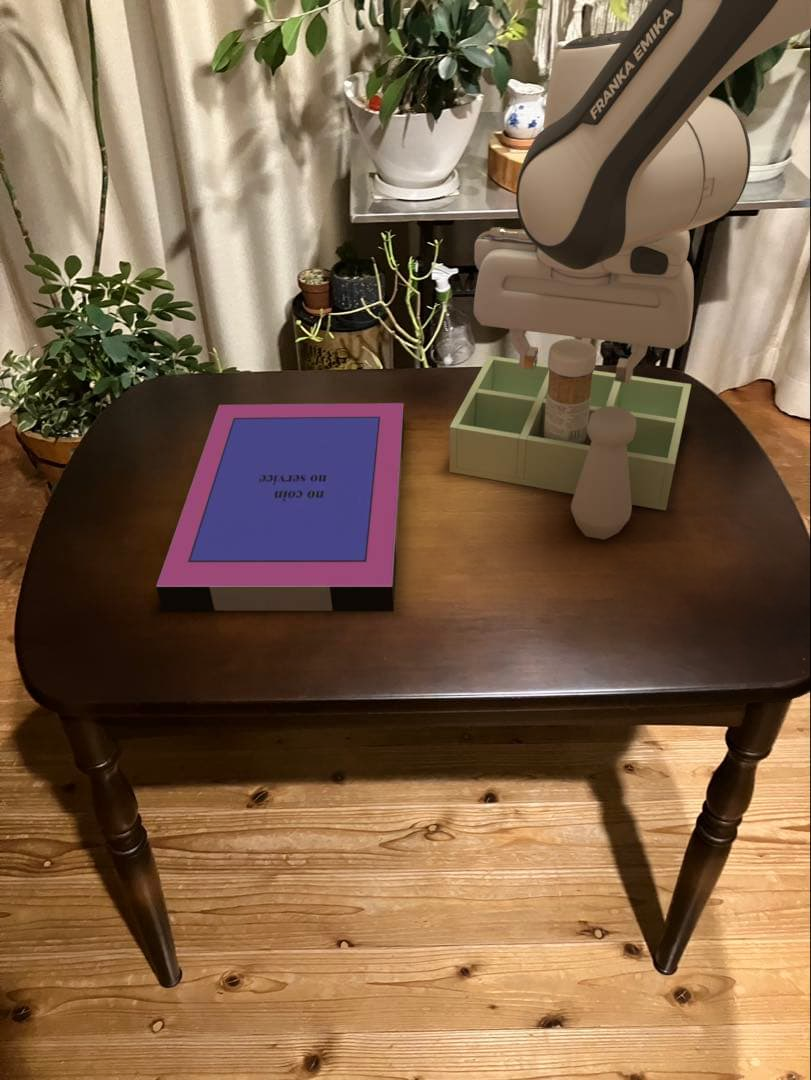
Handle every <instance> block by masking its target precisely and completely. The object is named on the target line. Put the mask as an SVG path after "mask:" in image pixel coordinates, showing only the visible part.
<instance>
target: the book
mask: <svg viewBox="0 0 811 1080" xmlns="http://www.w3.org/2000/svg"><path fill="white" fill-rule="evenodd" d="M404 404H405V403H404V402H378V403H377V402H373V403H372V402H371V403H370V402H369V403H365V402H363V403H362V402H361V403H360V402H359V403H274V404H273V403H267V404H266V403H264V404H263V403H260V404H259V403H255V404H244V403H243V404H219V405H218V407H217V410H216V413H215V416H214V419H213V422H212V424H211V427H210V429H209V433H208V436H207V438H206V442H205V445H204V447H203V451H202V453H201V456H200V458H199V462H198V465H197V468H196V470H195V473H194V477H193V479H192V483H191V485H190V488H189V491H188V493H187V497H186V500H185V502H184V505H183V508H182V511H181V514H180V517H179V520H178V523H177V526H176V529H175V531H174V534H173V536H172V539H171V543H170V545H169V547H168V552H167V555H166V558H165V560H164V563H163V566H162V569H161V572H160V574H159V576H158V577H159V578H158V580H157V583H156V590H157V595H158V598H159V601H160V604H161V609H162V611H165V612H166V611H167V612H168V611H169V612H170V611H171V612H172V611H175V612H176V611H177V612H179V611H191V612H193V611H195V612H196V611H198V612H199V611H201V612H202V611H203V612H205V611H208V612H209V611H211V612H212V611H214V612H215V611H216V612H217V611H219V612H220V611H222V612H223V611H227V612H231V611H232V612H234V611H235V612H236V611H237V612H238V611H239V612H241V611H242V612H243V611H245V612H247V611H248V612H249V611H250V612H251V611H252V612H253V611H254V612H255V611H256V612H258V611H259V612H262V611H264V612H266V611H267V612H269V611H270V612H274V611H275V612H276V611H277V612H279V611H281V612H288V611H289V612H292V611H293V612H298V611H299V612H345V611H346V612H361V611H362V612H394V610H395V593H396V575H397V558H398V544H399V543H398V542H399V541H398V540H399V526H400V525H399V524H400V508H401V507H400V506H401V493H402V492H401V491H402V490H401V489H402V472H403V455H404V440H405V439H404V438H405V405H404Z"/></svg>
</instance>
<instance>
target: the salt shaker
mask: <svg viewBox="0 0 811 1080" xmlns="http://www.w3.org/2000/svg"><path fill="white" fill-rule="evenodd" d="M635 431H636V419H635V418H634V416H633V414H631V413H630V412H629V411H627V410H625V409H623V408H620V407H616V406H606V407H602V408H599V409H597V410H596V411H595V412H593V413H592V414H591V416H590V419H589V422H588V426H587V432H588V435H589V437H590V439H591V440H592V442H591V445H590V448H589V451H588V454H587V457H586V460H585V463H584V466H583V469H582V473H581V476H580V479H579V482H578V485H577V488H576V491H575V494H573V496H572V499H571V503H570V511H571V513H572V516H573V519H574V522H575V524H576V526H577V527H578V528H579V530H580V531H581V532H582V534H583V536H585V537H586V538H587V537H588V538H593V539H599V540H607V539H609V538H611V537H613V536H615V535H617V534H618V533H620V532H621V530H622V529H623V528H624V527H625V525H626V524H627V523H628V522H629V521H630V518H631V515H632V508H633V505H632V503H631V492H630V480H629V469H628V458H627V444H629V443H630V442H631V441H632V440H633V439H634V435H635Z"/></svg>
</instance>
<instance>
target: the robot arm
mask: <svg viewBox="0 0 811 1080" xmlns="http://www.w3.org/2000/svg"><path fill="white" fill-rule="evenodd" d="M809 30H811V0H651V1H649V3H648V5H647V6H646V7H645V9H644V10H643V12H642V13H641V14H640V16H639V18H637V20H636V21H635V22H634V24H633V26H632V27H631V28H630V29H629V30H627V29H626V30H615V31H612V32H606V33H598V34H592V35H588V36H587V35H586V36H583V37H577V38H575V39H572V40H570V41H569V42H567V43H566V44H564V45H563V46H562V47H561V48H560V49H559V50H558V51H557V53H556V56H555V59H554V61H553V65H552V68H551V72H550V77H549V81H548V85H547V91H546V98H545V99H546V100H545V108H544V118H543V129H542V130H541V131H540V132H539V133H538V134H537V135H536V136H535V138H534V139H533V141H532V143H531V144H530V146H529V148H528V149H527V152H526V154H525V156H524V159H523V162H522V165H521V167H520V171H519V174H518V177H517V184H516V192H515V201H516V211H517V216H518V218H519V222H520V224H521V227H522V228H521V229H512V228H511V229H510V228H506V227H502V226H495V227H494V226H493V227H491V228H490V230H487V231H486V230H485V231H484V232H482V233H480V235H478V236H477V238H476V239H475V242H474V245H473V247H474V248H473V249H474V250H473V251H474V252H473V258H474V259H473V260H474V264H475V267H476V269H477V270H478V274H477V280H476V284H475V292H474V298H473V299H474V300H473V317H475V319H476V320H477V322H478V323H479V325H481V326H484V327H485V326H486V327H492V328H501V329H507V330H508V331H509V332H508V338H509V340H510V342H511V344H512V345H513V347H514V349H515V350H516V352H517V354H519V359H518V360H519V368H520V369H528V370H534V369H535V367H536V365H537V362H538V359H539V358H538V354H539V347H537V346H531V344H530V343H529V340H528V339H527V336H526V333H527V332H531V333H532V332H533V333H539V334H540V333H541V334H548V335H557V336H563V337H564V336H565V337H573V338H581V339H587V340H597V341H606V342H614V343H622V344H629V345H631V346H630V353H631V354H630V355H629V356H628V357H627V358H623V357H619V358H618V361H617V363H616V368H615V374H616V376H615V381H617V382H625V383H630V382H631V379H632V376H633V375H634V369H635V368H636V366H637V365H638V364H639V363H640V362H641V361H642V359H644V357H645V356H646V354H647V351H648V348H649V347H654V348H662V349H669V350H678V349H679V348H681V347H682V346H683V345H685V344H686V343H687V342H688V340H689V337H690V332H691V328H692V327H691V326H692V321H693V312H694V299H695V298H694V297H695V279H694V277H695V276H694V272H693V268H692V265H691V263H690V262H689V261H688V260H687V259H688V256H689V252H690V246H691V245H690V244H691V237H690V236H691V235H690V230H692V229H695V228H699V227H701V226H704V225H707V224H709V223H711V222H713V221H715V220H718V219H720V218H722V217H724V216H726V215H728V214H729V213H730V212H731V211H732V210H733V209H734V208H735V207H736V205H737V204H738V202H739V200H740V199H741V197H742V195H743V193H744V191H745V188H746V185H747V182H748V179H749V175H750V171H751V170H750V169H751V163H752V162H751V161H752V160H751V155H752V154H751V143H750V138H749V134H748V131H747V128H746V126H745V123H744V122H743V120H742V118H741V116H740V115H739V114H738V112H737V111H736V110H735V109H734V108H733V107H732V106H731V105H730V104H729V103H727V102H726V101H725V100H723V99H721V98H719V97H714V96H710V95H711V94H712V92H713V91H714V90H715V89H716V88H717V87H718V86H719V85H720V84H721V83H722V82H723V81H724V80H725V79H727V78H728V77H729V76H730V75H732V74H733V73H734V72H735V71H736V70H738V69H739V68H741V67H742V66H743V65H745V64H746V63H748V62H749V61H751V60H752V59H754V58H755V57H757V56H759V55H760V54H762V53H764V52H766V51H768V50H770V49H772V48H773V47H775V46H777V45H779V44H781V43H783V42H785V41H787V40H789V39H791V38H793V37H795V36H797V35H800V34H802V33H805V32H807V31H809Z"/></svg>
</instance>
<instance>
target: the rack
mask: <svg viewBox="0 0 811 1080" xmlns="http://www.w3.org/2000/svg"><path fill="white" fill-rule="evenodd" d="M519 360H520V359H516V358H509V357H502V356H496V355H488V356H487V358H486V360H485V361H484V363H483V365H482V367H481V369H480V370H479V372H478V374H477V376H476V378H475V379H474V381H473V383H472V385H471V387H470V389H469V391H468V393H467V394H466V395H465V398H464V399H463V401H462V403H461V405H460V406H459V409H458V411H457V412H456V414H455V416H454V418H453V420H452V422H451V423H450V425H449V473H452V474H453V473H454V474H458V475H465V476H470V477H476V478H481V479H487V480H492V481H497V482H504V483H509V484H513V485H514V484H515V485H520V486H525V487H532V488H536V489H543V490H549V491H554V492H560V493H564V494H570V495H574V494H575V491H576V488H577V485H578V482H579V479H580V476H581V473H582V469H583V466H584V463H585V460H586V457H587V454H588V451H589V448H590V445H591V442H592V440H591V439H590V437H589V435H588V432H587V435H586V439H585V444H584V445H583V444H577V443H571V442H565V441H559V440H553V439H547V438H544V423H545V410H546V397H547V390H548V380H549V367H548V363H546V362H545V363H544V362H538V361H537V365H536V367H535V369H534V370H528V369H520V368H519ZM615 376H616V372H615V373H614V372H608V371H600V370H594V371H593V374H592V383H591V400H590V409H589V418H588V422H589V419H590V416H591V414H592V413H593V412H595V411H596V410H597V409H599V408H602V407H606V406H616V407H620V408H623V409H625V410H627V411H629V412H630V413H631V414H633V416H634V418H635V419H636V431H635V435H634V439H633V440H632V441H631V442H630V443H629V444H627V458H628V469H629V480H630V492H631V503H632V506H637V507H641V508H642V507H643V508H647V509H648V508H649V509H654V510H659V511H667V506H668V502H669V496H670V491H671V487H672V481H673V476H674V473H675V467H676V463H677V458H678V454H679V448H680V443H681V440H682V439H681V438H682V434H683V429H684V424H685V419H686V414H687V409H688V403H689V398H690V394H691V389H692V384H691V383H686V382H678V381H673V380H672V381H671V380H664V379H657V378H650V377H643V376H636V375H632V379H631V382H630V383H625V382H617V381H615Z"/></svg>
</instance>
